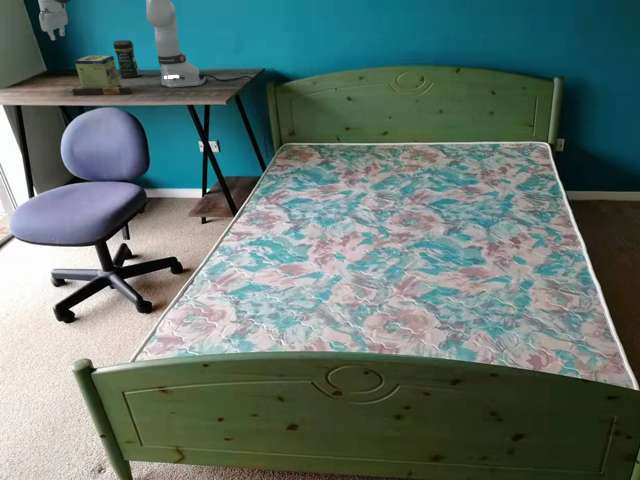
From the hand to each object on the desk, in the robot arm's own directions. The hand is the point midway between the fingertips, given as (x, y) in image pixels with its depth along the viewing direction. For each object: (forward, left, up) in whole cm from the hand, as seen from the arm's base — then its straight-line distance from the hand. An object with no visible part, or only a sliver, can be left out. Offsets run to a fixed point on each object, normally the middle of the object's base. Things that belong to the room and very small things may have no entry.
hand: (58, 37), depth 289 cm
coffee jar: (-20, -25, -25) cm, 41 cm away
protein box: (-15, +1, -25) cm, 29 cm away
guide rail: (-18, +8, -25) cm, 32 cm away
